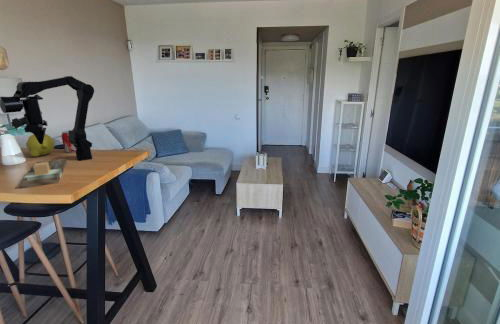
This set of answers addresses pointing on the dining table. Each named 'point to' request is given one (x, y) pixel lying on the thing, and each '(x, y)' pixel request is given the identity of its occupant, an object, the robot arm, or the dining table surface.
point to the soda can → (67, 143)
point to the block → (41, 168)
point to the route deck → (44, 179)
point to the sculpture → (40, 146)
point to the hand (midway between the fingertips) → (41, 143)
